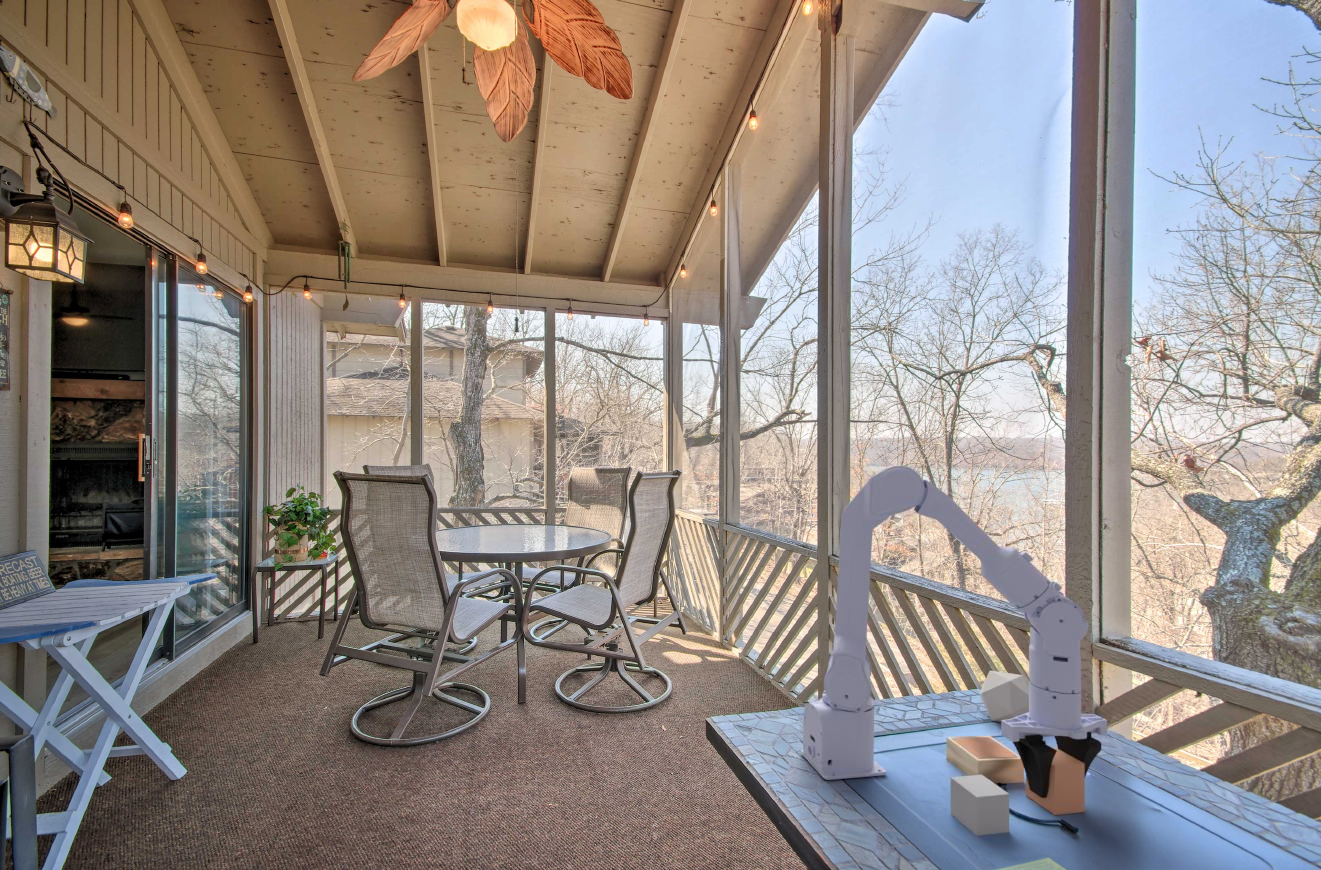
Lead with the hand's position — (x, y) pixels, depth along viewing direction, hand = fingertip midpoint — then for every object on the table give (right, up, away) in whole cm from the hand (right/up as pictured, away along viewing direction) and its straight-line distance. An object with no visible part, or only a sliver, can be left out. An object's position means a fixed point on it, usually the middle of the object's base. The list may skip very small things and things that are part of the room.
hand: (1054, 792), depth 77 cm
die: (+9, -3, +26) cm, 27 cm away
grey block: (-12, -1, -5) cm, 13 cm away
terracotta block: (0, -1, 0) cm, 1 cm away
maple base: (-5, -2, +8) cm, 10 cm away
